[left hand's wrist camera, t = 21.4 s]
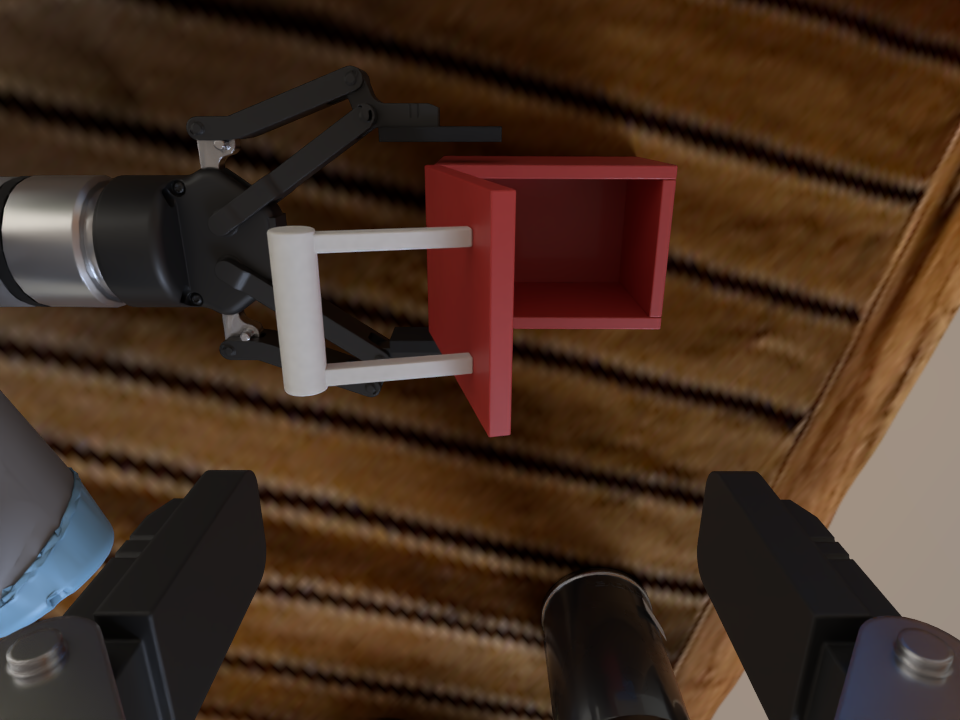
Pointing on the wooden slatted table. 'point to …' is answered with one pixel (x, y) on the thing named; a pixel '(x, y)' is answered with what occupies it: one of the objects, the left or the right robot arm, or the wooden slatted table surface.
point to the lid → (451, 295)
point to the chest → (585, 237)
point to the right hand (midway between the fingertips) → (500, 242)
